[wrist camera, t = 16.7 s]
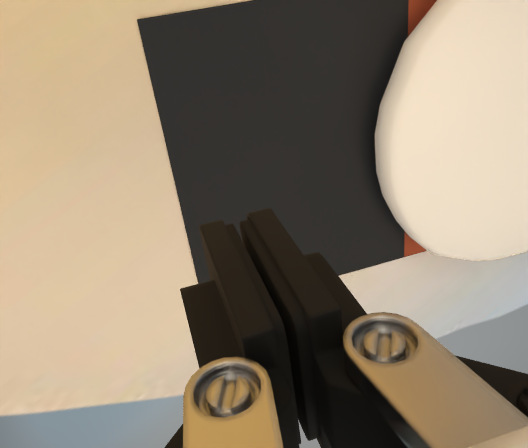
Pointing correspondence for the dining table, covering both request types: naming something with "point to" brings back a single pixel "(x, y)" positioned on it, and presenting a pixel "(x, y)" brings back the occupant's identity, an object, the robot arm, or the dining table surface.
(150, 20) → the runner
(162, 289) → the dining table surface
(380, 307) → the dining table surface
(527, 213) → the plate
